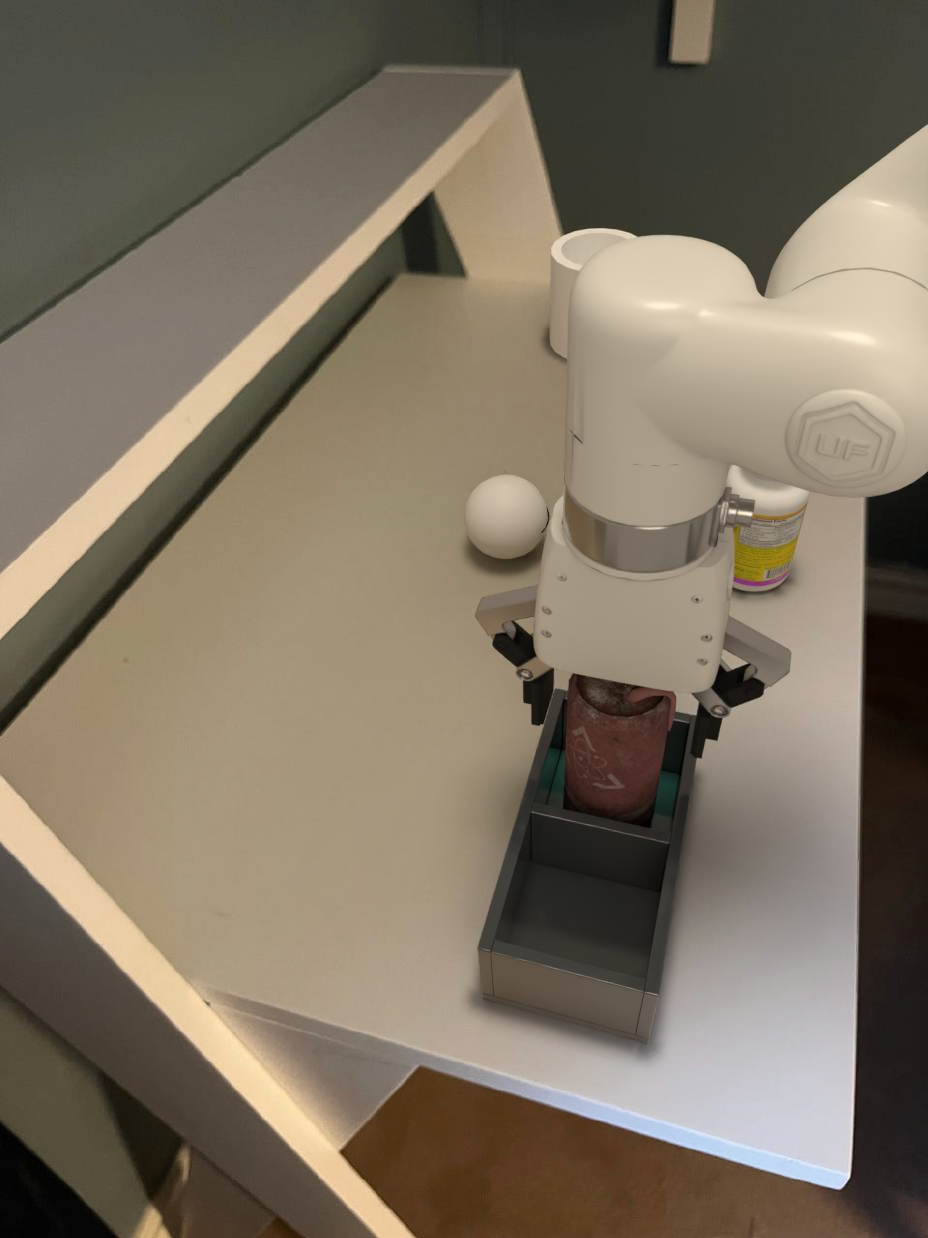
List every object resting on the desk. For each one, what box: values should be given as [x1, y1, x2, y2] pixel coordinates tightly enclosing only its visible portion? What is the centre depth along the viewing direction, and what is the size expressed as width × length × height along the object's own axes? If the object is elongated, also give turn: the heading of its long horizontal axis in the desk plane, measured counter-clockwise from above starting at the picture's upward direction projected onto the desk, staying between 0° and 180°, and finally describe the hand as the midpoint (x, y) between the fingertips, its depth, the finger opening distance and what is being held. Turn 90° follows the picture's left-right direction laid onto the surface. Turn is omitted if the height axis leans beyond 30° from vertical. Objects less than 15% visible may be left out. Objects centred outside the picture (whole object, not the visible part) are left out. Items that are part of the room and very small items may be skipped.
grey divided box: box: [477, 687, 698, 1044], centre depth 61 cm, size 10×19×7 cm, turn 163°
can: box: [563, 673, 677, 828], centre depth 61 cm, size 6×6×14 cm
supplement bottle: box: [725, 464, 811, 592], centre depth 78 cm, size 7×7×13 cm
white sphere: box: [463, 470, 551, 560], centre depth 85 cm, size 10×7×7 cm
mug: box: [549, 227, 638, 360], centre depth 105 cm, size 14×10×11 cm
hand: (619, 723), depth 59 cm, fingers open, 9 cm apart
